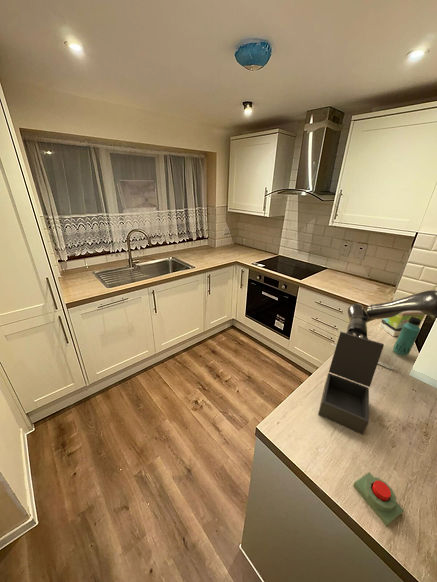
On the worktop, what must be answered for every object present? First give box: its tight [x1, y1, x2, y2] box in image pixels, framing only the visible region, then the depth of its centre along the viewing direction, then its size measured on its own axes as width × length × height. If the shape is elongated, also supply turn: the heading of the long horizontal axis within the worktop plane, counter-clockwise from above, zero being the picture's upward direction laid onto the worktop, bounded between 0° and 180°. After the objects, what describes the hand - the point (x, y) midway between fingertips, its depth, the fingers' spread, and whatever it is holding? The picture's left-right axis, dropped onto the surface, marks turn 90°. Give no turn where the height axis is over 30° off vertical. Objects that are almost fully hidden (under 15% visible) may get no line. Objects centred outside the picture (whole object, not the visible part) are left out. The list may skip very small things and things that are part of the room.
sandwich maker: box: [317, 372, 370, 436], centre depth 84 cm, size 16×14×6 cm
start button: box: [372, 480, 391, 501], centre depth 59 cm, size 4×4×2 cm
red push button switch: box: [352, 471, 405, 527], centre depth 60 cm, size 6×9×4 cm
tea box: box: [378, 311, 426, 337], centre depth 129 cm, size 15×10×15 cm, turn 102°
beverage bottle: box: [392, 317, 422, 357], centre depth 109 cm, size 6×7×20 cm
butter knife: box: [330, 342, 395, 371], centre depth 111 cm, size 1×27×3 cm
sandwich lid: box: [328, 331, 385, 388], centre depth 88 cm, size 17×14×5 cm
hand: (355, 351), depth 90 cm, fingers closed
